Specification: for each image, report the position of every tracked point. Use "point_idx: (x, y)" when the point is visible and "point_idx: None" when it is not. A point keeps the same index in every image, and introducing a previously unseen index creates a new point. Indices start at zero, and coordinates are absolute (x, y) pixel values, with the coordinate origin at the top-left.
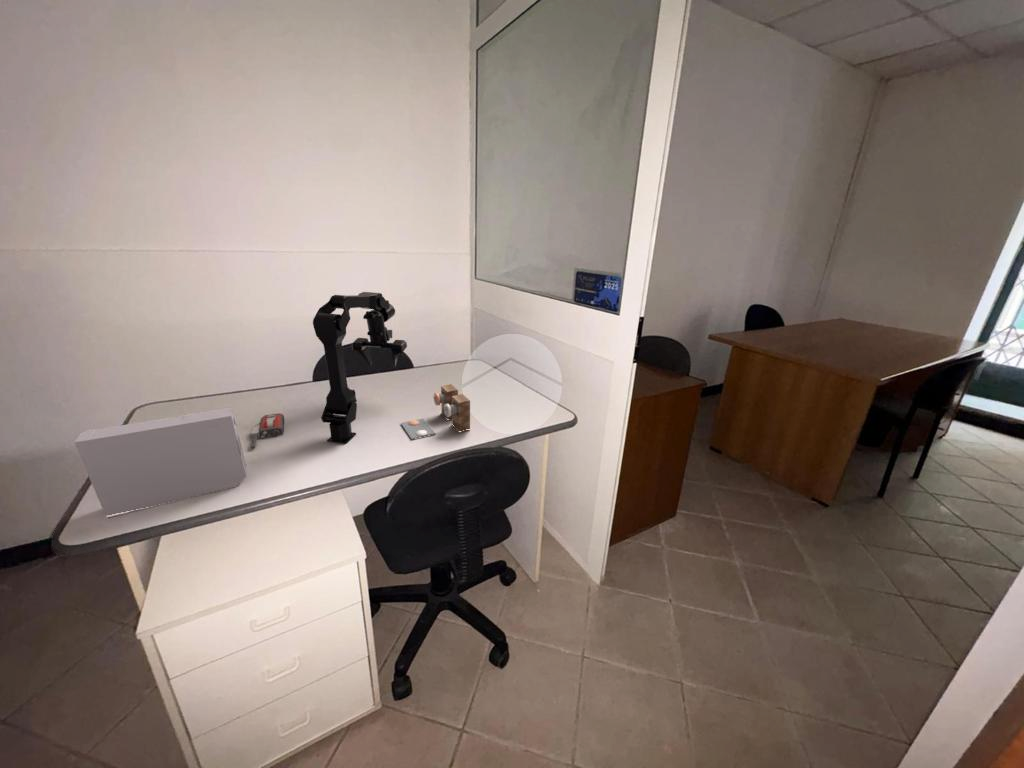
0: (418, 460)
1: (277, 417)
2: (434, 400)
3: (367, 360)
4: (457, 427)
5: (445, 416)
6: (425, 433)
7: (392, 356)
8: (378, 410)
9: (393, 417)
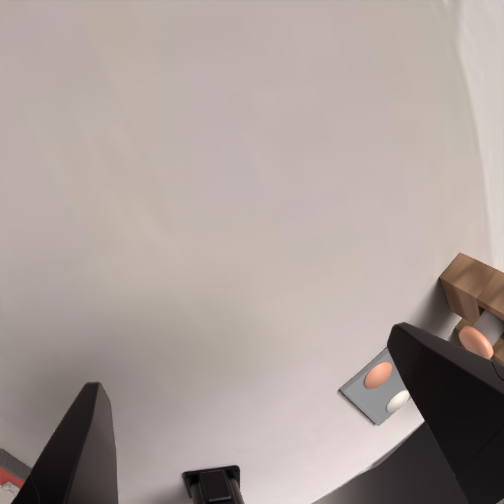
0: (390, 451)
1: (13, 481)
2: (465, 336)
3: (107, 497)
4: (465, 348)
5: (448, 300)
6: (406, 399)
7: (467, 481)
8: (219, 341)
9: (303, 365)
